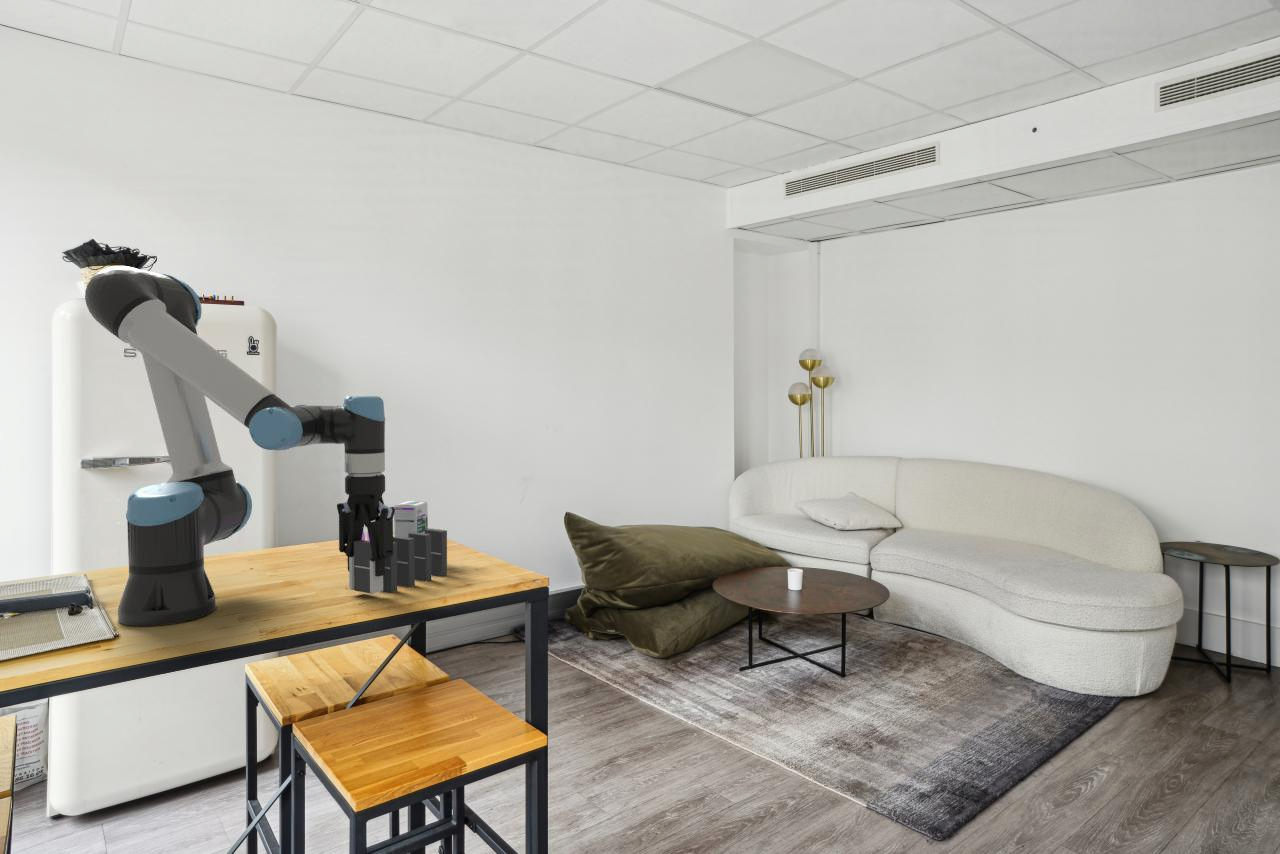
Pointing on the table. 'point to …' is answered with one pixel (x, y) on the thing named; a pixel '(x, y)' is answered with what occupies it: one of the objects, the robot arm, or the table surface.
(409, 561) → the domino
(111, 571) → the table surface
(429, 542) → the domino
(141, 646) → the table surface
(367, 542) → the domino
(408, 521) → the syrup box
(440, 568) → the domino
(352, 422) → the robot arm
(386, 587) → the domino
